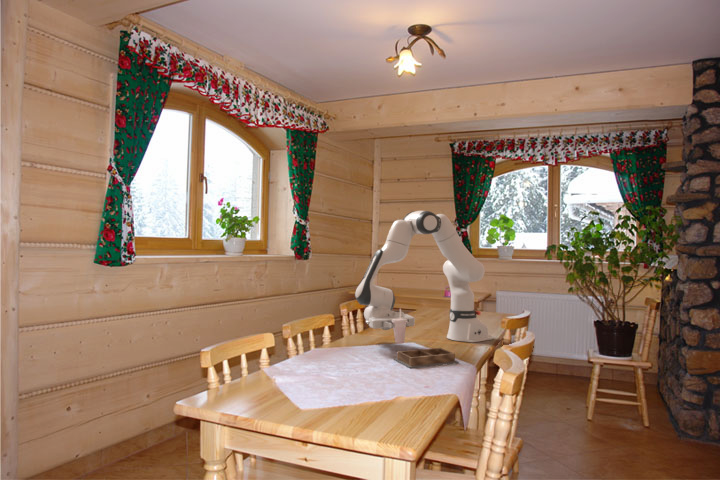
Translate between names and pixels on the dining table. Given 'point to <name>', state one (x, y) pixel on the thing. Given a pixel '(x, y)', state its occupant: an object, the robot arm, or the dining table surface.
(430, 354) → the tray
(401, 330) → the smoothie
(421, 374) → the dining table surface
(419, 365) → the mat
